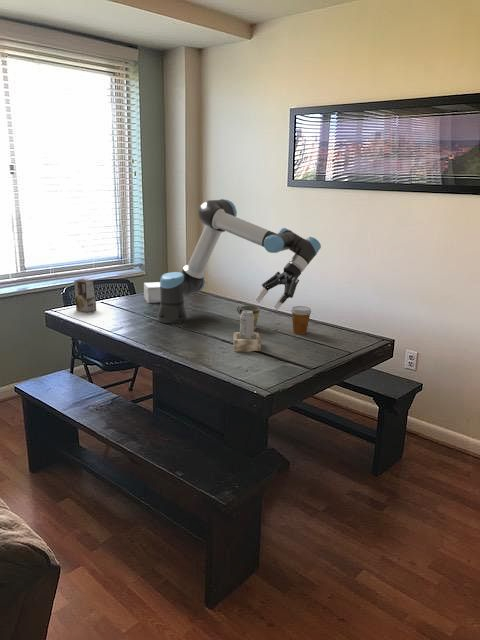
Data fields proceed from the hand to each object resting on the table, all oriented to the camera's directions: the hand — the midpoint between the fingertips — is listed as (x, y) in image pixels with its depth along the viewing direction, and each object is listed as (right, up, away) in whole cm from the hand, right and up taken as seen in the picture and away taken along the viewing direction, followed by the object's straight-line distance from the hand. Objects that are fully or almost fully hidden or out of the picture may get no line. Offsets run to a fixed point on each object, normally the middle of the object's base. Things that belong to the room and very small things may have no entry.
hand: (265, 304), depth 229 cm
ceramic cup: (-8, -11, +29) cm, 32 cm away
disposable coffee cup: (+17, -13, +23) cm, 32 cm away
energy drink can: (-8, -18, 0) cm, 20 cm away
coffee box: (-93, -2, +52) cm, 107 cm away
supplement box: (-58, +5, +78) cm, 97 cm away
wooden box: (-8, -19, 0) cm, 20 cm away
